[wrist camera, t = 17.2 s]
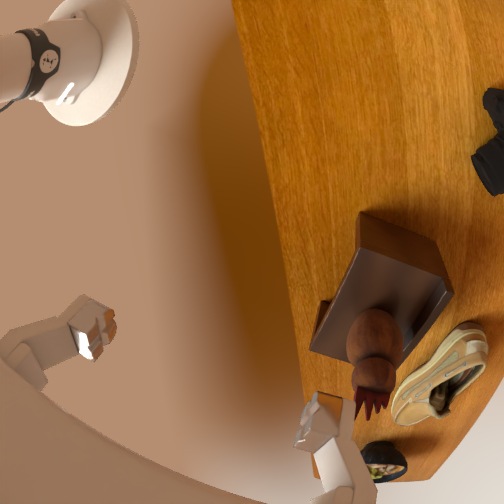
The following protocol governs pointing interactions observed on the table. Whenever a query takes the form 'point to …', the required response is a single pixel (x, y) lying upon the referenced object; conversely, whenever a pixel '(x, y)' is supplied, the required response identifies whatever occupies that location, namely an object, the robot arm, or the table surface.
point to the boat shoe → (442, 376)
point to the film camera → (492, 146)
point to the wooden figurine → (374, 358)
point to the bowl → (383, 461)
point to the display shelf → (385, 287)
